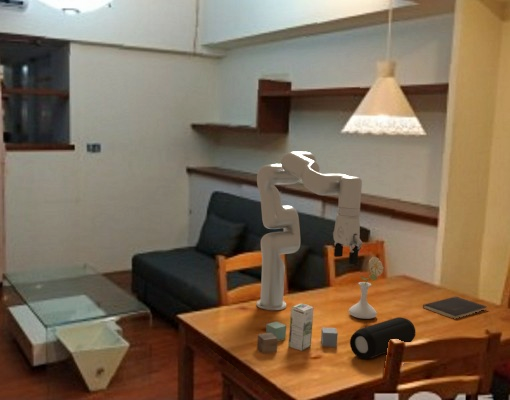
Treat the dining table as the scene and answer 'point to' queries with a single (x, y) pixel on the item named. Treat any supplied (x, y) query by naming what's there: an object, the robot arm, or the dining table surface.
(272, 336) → the walnut cube
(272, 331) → the sage green cube
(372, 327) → the portable speaker
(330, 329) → the slate grey cube
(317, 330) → the dining table surface
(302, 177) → the robot arm
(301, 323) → the syrup box
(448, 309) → the hardcover book
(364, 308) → the flower in vase
